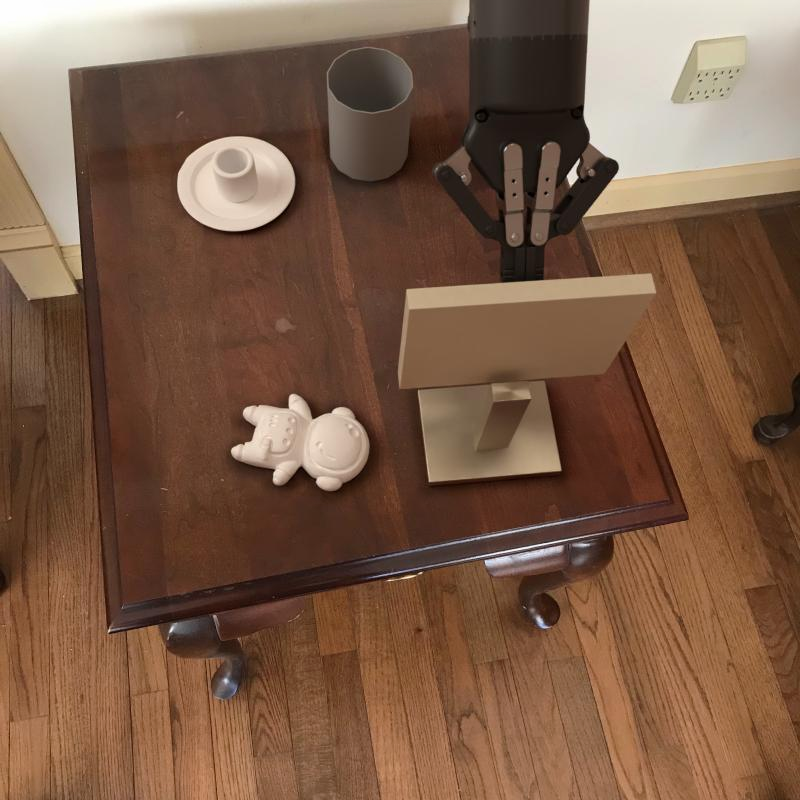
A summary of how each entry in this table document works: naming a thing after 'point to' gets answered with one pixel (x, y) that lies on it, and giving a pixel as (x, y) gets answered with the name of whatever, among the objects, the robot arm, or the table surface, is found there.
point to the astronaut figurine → (305, 443)
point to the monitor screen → (518, 329)
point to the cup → (369, 113)
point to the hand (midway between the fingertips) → (521, 295)
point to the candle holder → (236, 183)
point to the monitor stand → (487, 433)
